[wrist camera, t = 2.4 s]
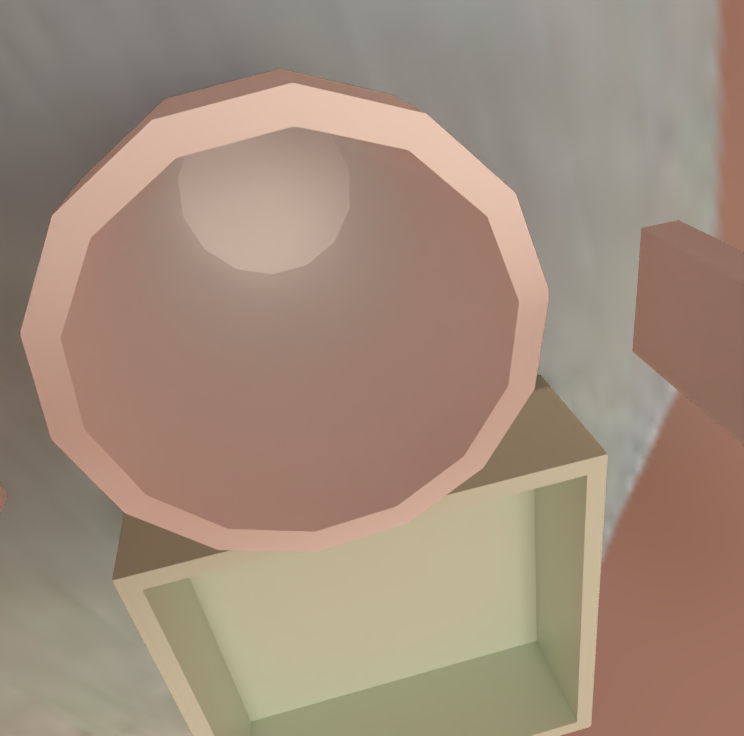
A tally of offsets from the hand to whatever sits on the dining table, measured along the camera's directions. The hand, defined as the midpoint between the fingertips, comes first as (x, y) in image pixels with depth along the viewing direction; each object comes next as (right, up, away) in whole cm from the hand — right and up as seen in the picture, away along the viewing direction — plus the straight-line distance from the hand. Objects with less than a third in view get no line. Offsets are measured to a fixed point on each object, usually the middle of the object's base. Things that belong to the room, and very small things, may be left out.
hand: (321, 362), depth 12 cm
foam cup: (-3, +6, +11) cm, 13 cm away
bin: (+1, -10, +21) cm, 24 cm away
